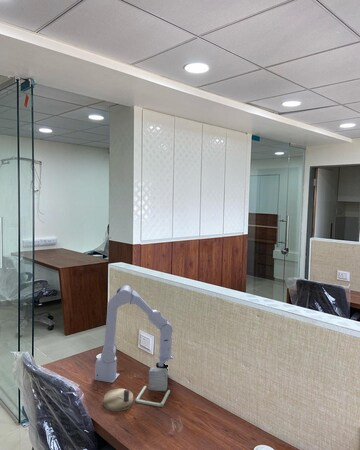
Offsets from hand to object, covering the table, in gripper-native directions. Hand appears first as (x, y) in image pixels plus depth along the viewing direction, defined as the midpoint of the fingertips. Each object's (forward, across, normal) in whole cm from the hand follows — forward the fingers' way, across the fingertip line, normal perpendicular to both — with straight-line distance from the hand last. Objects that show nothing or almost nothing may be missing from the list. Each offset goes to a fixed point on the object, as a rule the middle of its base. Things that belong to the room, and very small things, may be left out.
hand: (164, 374), depth 170 cm
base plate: (+1, -25, +12) cm, 28 cm away
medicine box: (+2, -10, 0) cm, 11 cm away
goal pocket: (+1, -17, 0) cm, 17 cm away
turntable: (+1, -25, +12) cm, 28 cm away
